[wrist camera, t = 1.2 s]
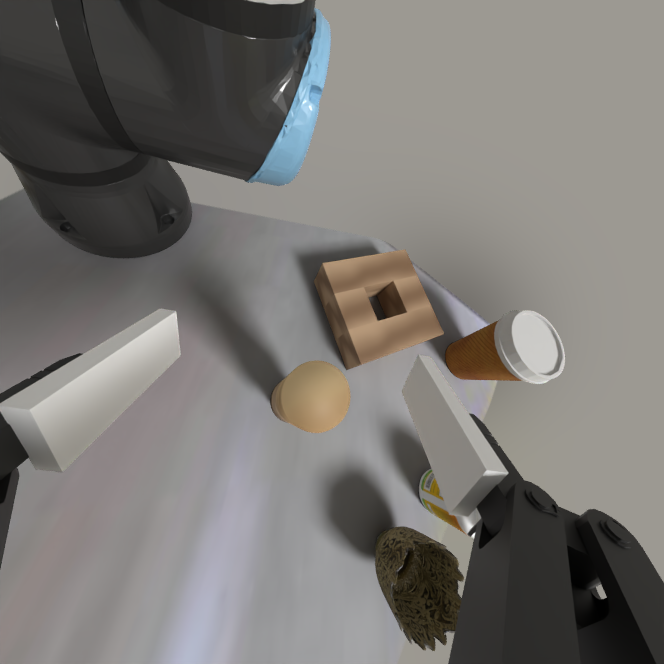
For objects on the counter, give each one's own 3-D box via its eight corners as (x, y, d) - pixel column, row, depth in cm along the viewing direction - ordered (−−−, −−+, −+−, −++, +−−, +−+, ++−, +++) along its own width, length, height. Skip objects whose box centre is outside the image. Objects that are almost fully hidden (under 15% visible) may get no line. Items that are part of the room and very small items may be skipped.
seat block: (313, 281, 36) (322, 263, 31) (388, 266, 41) (405, 249, 36) (346, 370, 33) (361, 364, 28) (421, 342, 38) (444, 333, 34)
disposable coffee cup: (451, 397, 37) (534, 394, 26) (428, 340, 39) (496, 314, 28) (491, 379, 40) (579, 369, 29) (468, 328, 42) (543, 300, 31)
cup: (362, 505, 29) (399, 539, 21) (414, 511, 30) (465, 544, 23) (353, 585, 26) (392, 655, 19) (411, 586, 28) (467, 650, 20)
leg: (263, 389, 29) (271, 372, 14) (298, 376, 31) (337, 350, 16) (274, 426, 28) (294, 447, 14) (309, 411, 30) (361, 416, 15)
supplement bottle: (453, 511, 32) (530, 551, 23) (419, 515, 30) (487, 560, 21) (448, 466, 33) (517, 487, 25) (415, 468, 32) (477, 492, 23)
